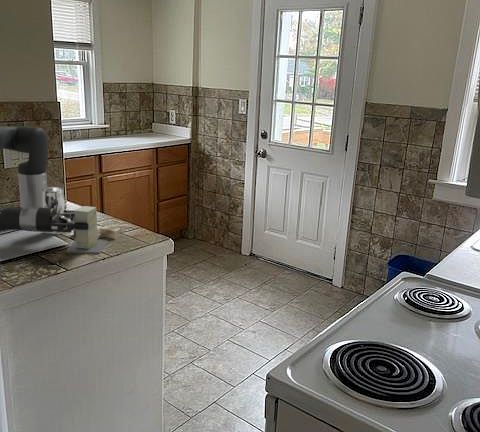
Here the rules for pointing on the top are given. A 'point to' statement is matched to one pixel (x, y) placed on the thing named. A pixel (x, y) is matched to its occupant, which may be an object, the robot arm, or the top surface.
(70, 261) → the top surface
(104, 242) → the slate coaster
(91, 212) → the skincare box
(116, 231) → the beech brick
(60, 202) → the beer glass
